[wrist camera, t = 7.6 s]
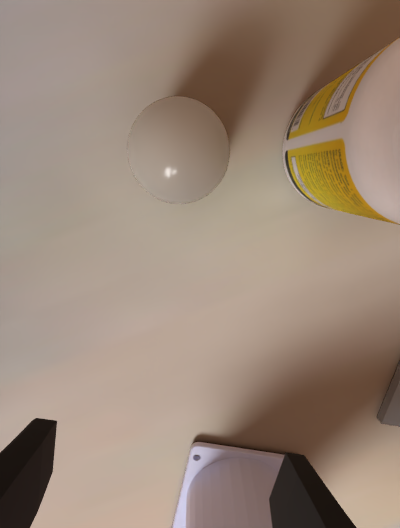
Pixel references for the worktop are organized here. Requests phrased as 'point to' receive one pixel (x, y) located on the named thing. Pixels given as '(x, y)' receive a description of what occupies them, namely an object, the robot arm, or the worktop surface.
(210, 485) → the robot arm
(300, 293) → the worktop surface
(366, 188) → the pill bottle
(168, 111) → the white egg
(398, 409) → the slate coaster
